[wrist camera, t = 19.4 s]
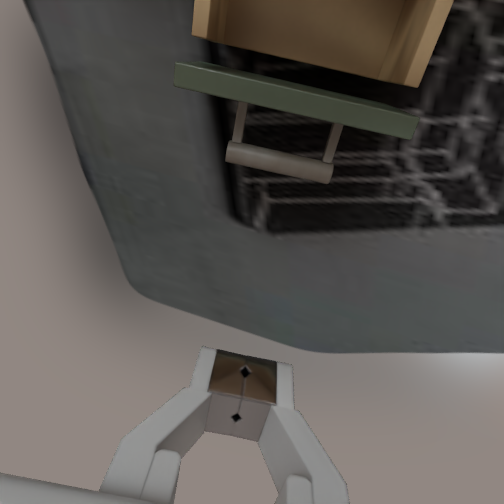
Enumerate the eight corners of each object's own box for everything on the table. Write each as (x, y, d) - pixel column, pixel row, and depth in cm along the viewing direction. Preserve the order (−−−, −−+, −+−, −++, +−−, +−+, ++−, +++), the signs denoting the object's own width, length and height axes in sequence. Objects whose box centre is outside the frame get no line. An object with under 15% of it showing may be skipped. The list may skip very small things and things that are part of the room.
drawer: (359, 175, 26) (382, 207, 20) (193, 138, 26) (167, 160, 20) (490, -175, 17) (602, -301, 11) (233, -242, 16) (206, -411, 11)
